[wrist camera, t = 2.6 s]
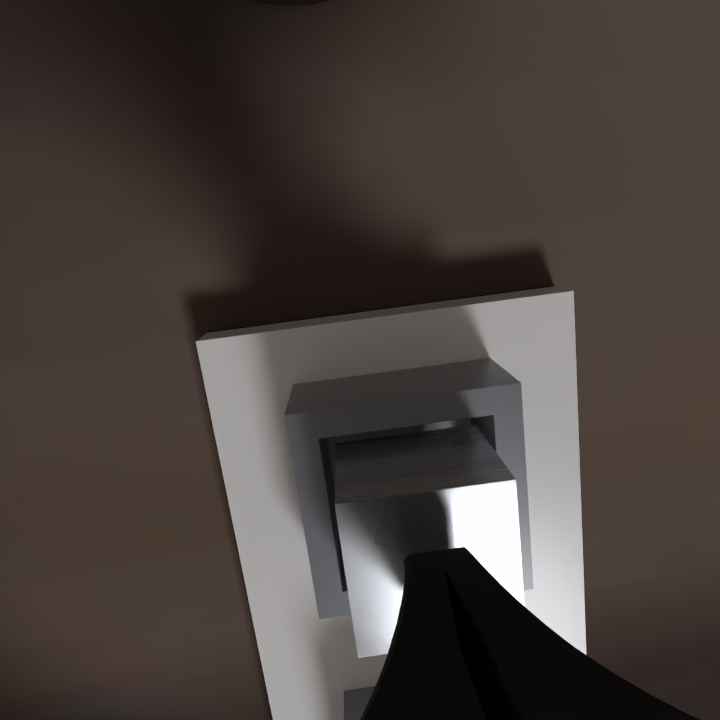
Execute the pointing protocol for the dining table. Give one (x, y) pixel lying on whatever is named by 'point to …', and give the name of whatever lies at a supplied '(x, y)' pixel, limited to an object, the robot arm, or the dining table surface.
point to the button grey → (419, 517)
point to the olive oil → (290, 2)
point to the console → (380, 419)
